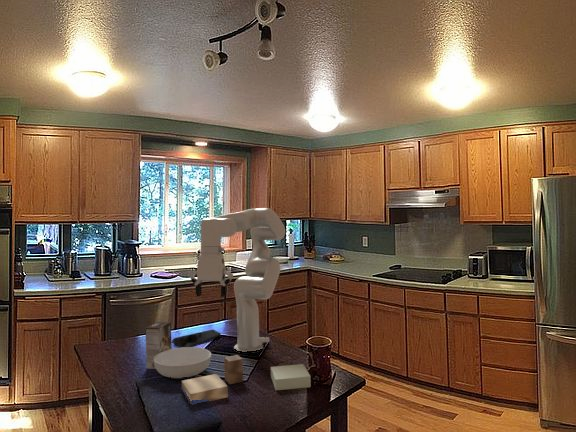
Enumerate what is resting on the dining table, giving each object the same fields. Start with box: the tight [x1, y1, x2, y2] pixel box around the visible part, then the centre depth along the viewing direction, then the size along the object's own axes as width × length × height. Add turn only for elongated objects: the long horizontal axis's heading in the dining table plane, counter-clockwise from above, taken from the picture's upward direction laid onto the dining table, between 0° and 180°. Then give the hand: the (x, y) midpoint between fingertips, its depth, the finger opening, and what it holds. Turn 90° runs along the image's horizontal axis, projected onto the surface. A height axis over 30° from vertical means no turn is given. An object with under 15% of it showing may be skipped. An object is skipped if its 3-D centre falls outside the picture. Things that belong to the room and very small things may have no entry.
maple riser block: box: [181, 373, 229, 402], centre depth 137 cm, size 12×12×4 cm
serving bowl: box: [153, 346, 212, 379], centre depth 155 cm, size 21×21×7 cm
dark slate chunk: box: [171, 329, 221, 348], centre depth 198 cm, size 15×22×5 cm
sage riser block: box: [270, 363, 312, 391], centre depth 146 cm, size 12×12×4 cm
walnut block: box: [223, 354, 244, 385], centre depth 148 cm, size 5×5×8 cm
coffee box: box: [144, 321, 173, 370], centre depth 165 cm, size 9×6×16 cm
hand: (211, 296), depth 158 cm, fingers open, 9 cm apart
